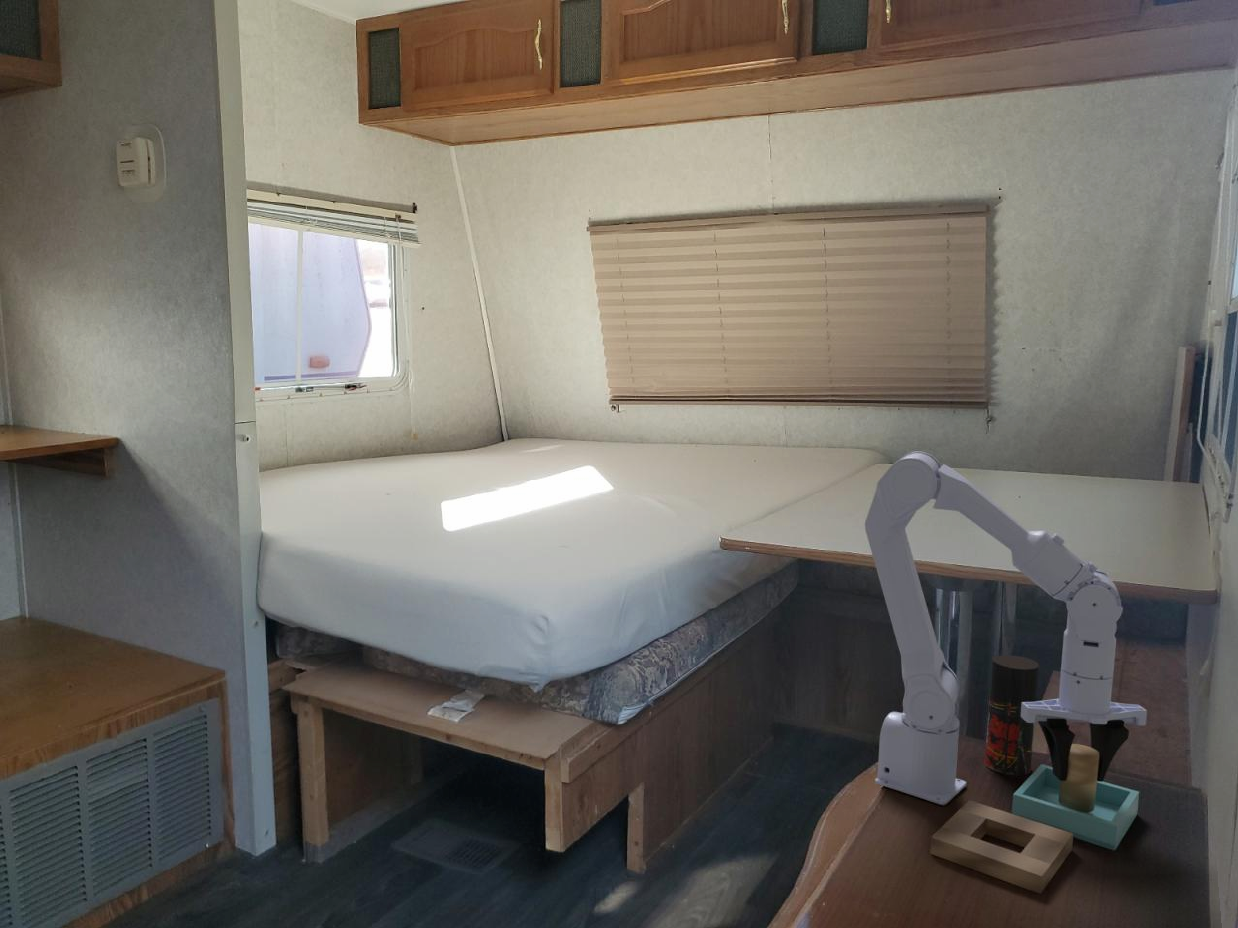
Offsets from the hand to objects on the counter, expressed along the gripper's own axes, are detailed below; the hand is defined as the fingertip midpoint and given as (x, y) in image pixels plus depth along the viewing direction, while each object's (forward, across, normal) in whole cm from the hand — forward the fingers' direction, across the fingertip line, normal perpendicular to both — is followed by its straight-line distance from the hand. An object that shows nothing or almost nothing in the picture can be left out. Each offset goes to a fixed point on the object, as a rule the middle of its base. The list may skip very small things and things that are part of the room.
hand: (1077, 777), depth 116 cm
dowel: (+3, 0, 0) cm, 3 cm away
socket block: (+5, -13, -9) cm, 16 cm away
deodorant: (+5, -3, +14) cm, 15 cm away
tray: (+5, 0, 0) cm, 5 cm away
